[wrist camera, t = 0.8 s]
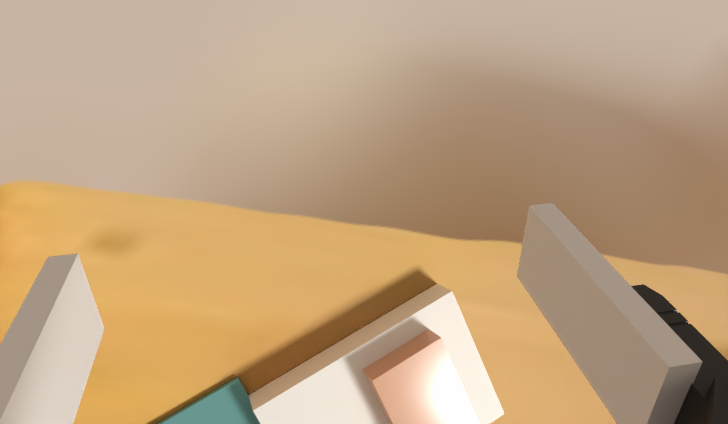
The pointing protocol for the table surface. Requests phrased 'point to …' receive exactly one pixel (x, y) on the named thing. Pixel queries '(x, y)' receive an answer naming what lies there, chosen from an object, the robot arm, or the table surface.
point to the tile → (420, 384)
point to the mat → (218, 408)
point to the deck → (357, 351)
